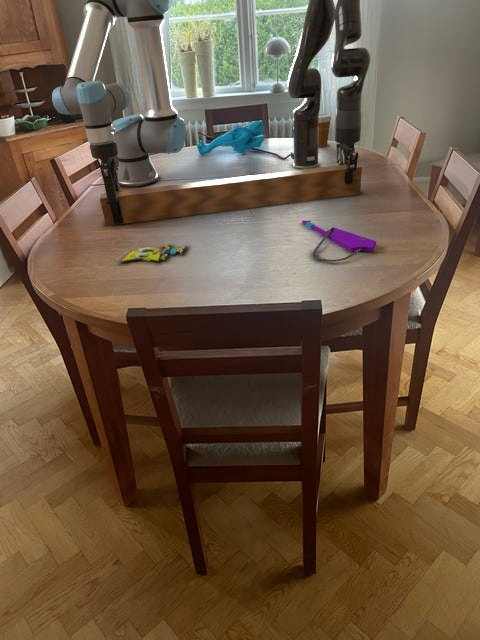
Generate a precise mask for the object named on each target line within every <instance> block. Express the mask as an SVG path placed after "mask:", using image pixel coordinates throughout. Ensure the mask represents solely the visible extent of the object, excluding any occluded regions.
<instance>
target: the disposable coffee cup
mask: <svg viewBox="0 0 480 640" xmlns="http://www.w3.org/2000/svg"><path fill="white" fill-rule="evenodd" d="M332 120H333V119H332V116H331V114H330V113H319V136H318V148H319V147H320V148H323V147H326V146H328V142H329V134H330V128H331V121H332Z"/></svg>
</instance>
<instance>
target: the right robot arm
mask: <svg viewBox="0 0 480 640" xmlns="http://www.w3.org/2000/svg"><path fill="white" fill-rule="evenodd" d="M334 26H335V43H334V49H333V54H332V59H331V64H330V65H331V66H330V68H331V72H332V74H333V75H334V77H335V78H341V79H343V78H352V77H354V78H353V80H352V82H351V83H349V84H347V85H343V86H340V87H339V88H338V89H337V92H336V112H335V120H334V121H335V122H334V142H335V143H336V145H335V146H336V147H335V148H336V164H338V165H345V184H352V181H353V172H354V171H356V168H357V164H358V160H359V152H358V151H356V148H355V144H356V143H358V142H360V140H361V133H362V132H361V131H362V130H361V129H362V98H363V96H362V95H363V90H364V85H365V81H366V78H367V75H368V72H369V68H370V65H371V55H370V52H369V50H368V49H367V48H366V47H353V48H345V47H346V46H349V45H352V44H353V43H356V42H358V41H359V40H360V39H361V37H362V13H361V0H337V1H336V5H335V1H334V0H308V4H307V8H306V12H305V16H304V19H303V24H302V29H301V34H300V39H299V42H298V46H297V49H296V53H295V55H294V56H295V57H294V59H293V63H292V66H291V68H290V71H289V75H288V78H287V79H288V80H287V93H288V96H289V97H290V98H291V99H293V100H302V99H304V101H303V102H302V104H301V105H300V106H298V107H297V108H295V109H294V110H293V112H292V124H293V125H292V128H293V151H290V153H289V154H287V156H285V157H282V156H281V155H280V154H278V153H275V152H271V151H268V150H263V149H259V148H257V147H254V148H251V149H250V150H254V151H258V152H262V153H265V154H268V155H269V154H270V155H273V156H276V157H278V158H279V159H281V160H287V159H288V158H290V159H292V160H293V168H295V169H297V170H302V169H311V168H318V167H319V147H318V136H319V114H320V111H321V100H322V99H321V98H322V76H321V72H320V71H319V69H318V68H316V67H310V65H311V63H312V62H313V60H314V59H315V58H316V56H317V55H318V54H319V53H320V52H321V50H322V49H323V48H324V46H325V45H326V44H327V42H328V41H329V40H330V37H331V34H332V31H333V28H334ZM197 135H202V136H204V137H207V138H210V139H212V140H214V139H216V138H217V137H213V136H210V135H208V134H205V133H203V132H201V131H198V132H197ZM350 166H351V168H350Z"/></svg>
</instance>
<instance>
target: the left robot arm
mask: <svg viewBox="0 0 480 640" xmlns="http://www.w3.org/2000/svg"><path fill="white" fill-rule="evenodd" d="M82 9H83V11H82V12H83V16H84V19H83V22H82V25H81V28H80V32H79V35H78V38H77V42H76V45H75V48H74V52H73V55H72V59H71V62H70V65H69V69H68V72H67V74H66V78H65V82H64V85H63V86H61V85H60V86H58V87H56V88H54V89H53V91H52V93H51V101H52V104H53V107H54V108H55V110H56V111H57V112H58V113H59V114H61V115H70V116H75V115H81V117H82V119H83V123H84V124H83V125H84V129H85V133H86V138H87V142H88V143H89V150H90V155H91V157H92V158H93V159H94V160H100V164H99V168H100V173H101V176H102V180H103V184H104V189H105V193H106V194H107V199H108V202H107V204H110V207H111V212H112V216H113V220H114V224H117V225H121V224H120V223H123V218H122V213H121V209H120V204H119V202H118V198H117V193H116V192H118V191H121V187H123V188H124V187H125V188H136V187H137V188H138V187H145V186H147V185H148V186H149V185H151V184H154V183H156V182H157V181H158V180H159V176H158V172H157V169H156V168H155V166H154V163H153V161H152V159H151V156H150V154H167V155H171V154H177V153H180V152H181V151H182V150H183V148H184V145H185V142H186V138H187V137H186V136H187V127H186V123H185V120H184V119H183V118H181V117H179V115H178V111H177V110H176V109H175V108H174V107H173V103H172V96H171V89H170V82H169V76H168V67H167V62H166V55H165V54H166V53H165V47H164V41H163V33H162V32H163V31H162V26H163V24H164V22H165V14H166V13H168V12H169V9H170V0H85V2H84V6H83V8H82ZM120 18H126V19H127V24H128V25H129V26H130V27H131V28H132V29H133V31H134V38H135V43H136V44H135V45H136V50H137V56H138V62H139V68H140V73H141V79H142V85H143V91H144V97H145V104H146V108H147V109H146V112H145V113H144V115H143V114H140V113H138V114H133V115H132V114H131V115H128V116H124V117H121V118H118V119H115V120H113V121H112V115H114V114H116V113H121V112H122V111H124V110H126V109H127V108H129V106H130V103H131V94H130V91H129V89H128V88H127V86H125V84H123V83H120V82H110V83H109V84H104V82H103V81H101V80H95V79H96V75H97V72H98V69H99V66H100V62H101V58H102V56H103V51H104V48H105V45H106V41H107V37H108V33H109V30H111V29H112V28H113V27H114V25H115V22H116V21H117V20H118V19H120ZM116 156H117V160H118V167H116V162H115V159H114V157H116Z"/></svg>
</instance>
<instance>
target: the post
mask: <svg viewBox="0 0 480 640" xmlns="http://www.w3.org/2000/svg"><path fill="white" fill-rule="evenodd" d="M350 168H351V166H350ZM362 173H363V167H362V165H360V164H358V163H357V168H356V171H354V172H353V181H352V184H345V165H339V164H336V165H328V166H320V167H319V166H318V167H315V168H310V169H294V170H287V171H286V170H285V171H278V172H270V173H261V174H254V175H252V174H251V175H244V176H236V177H228V178H219V179H210V180H202V181H195V182H194V181H193V182H187V183H186V182H184V183H177V184H170V185H169V184H168V185H160V186H153V187H145V188H135V189H128V190H127V189H126V190H120V191H118V192H116V193H117V198H118V202H119V204H120V209H121V213H122V218H123V223H120V224H119V225H125V224H132V223H139V222H148V221H158V220H164V219H173V218H180V217H189V216H196V215H204V214H213V213H214V214H215V213H222V212H228V211H236V210H244V209H245V210H246V209H253V208H260V207H269V206H276V205H284V204H293V203H302V202H309V201H310V202H311V201H317V200H325V199H333V198H341V197H349V196H358V195H361V191H362V190H361V188H362ZM99 201H100V202H99V203H100V207H101V211H102V215H103V219H104V224H105V226H108V227H109V226H115V225H118V224H114V220H113V216H112V212H111V207H110V204H107V202H108V199H107V194H106V192H102V193H100V196H99Z"/></svg>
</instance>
